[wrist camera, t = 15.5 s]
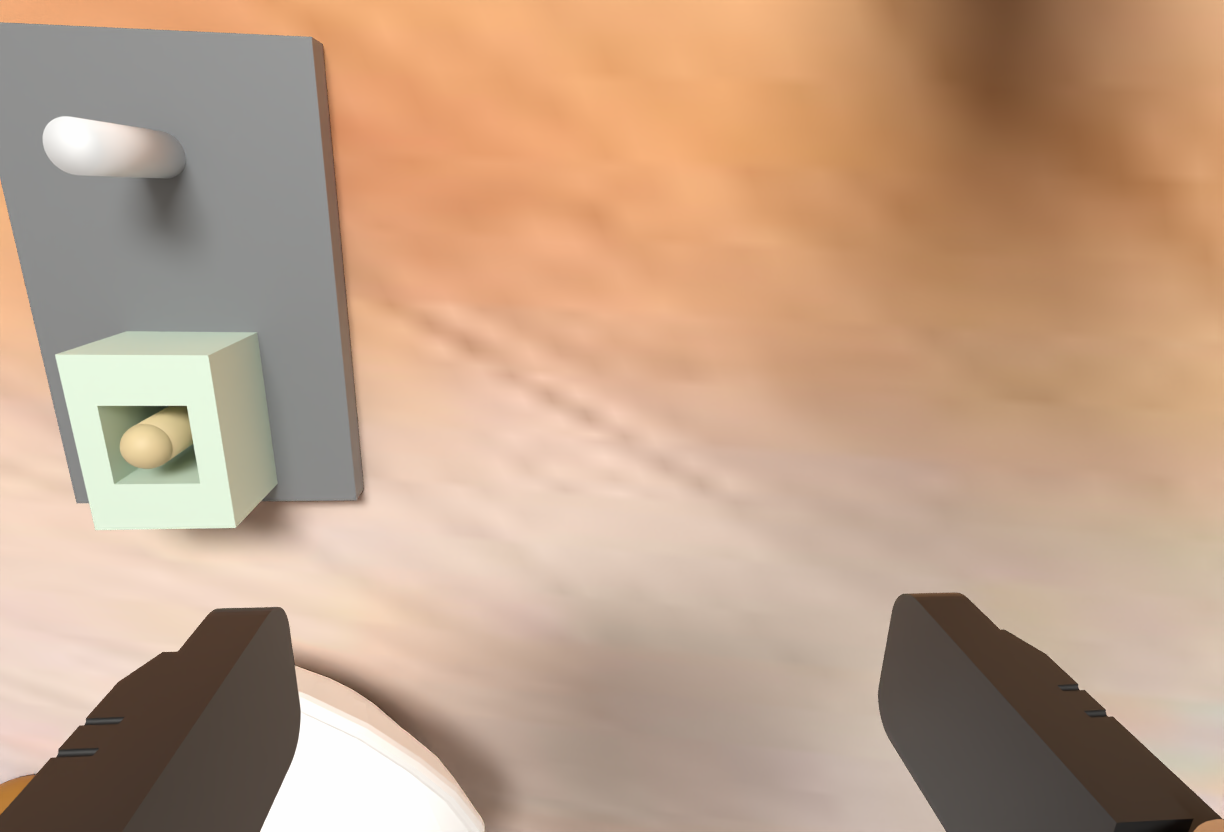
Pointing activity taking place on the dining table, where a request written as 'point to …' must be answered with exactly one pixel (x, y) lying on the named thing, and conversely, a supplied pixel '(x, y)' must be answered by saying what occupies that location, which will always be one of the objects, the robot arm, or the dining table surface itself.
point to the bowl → (363, 772)
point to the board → (185, 222)
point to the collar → (219, 419)
